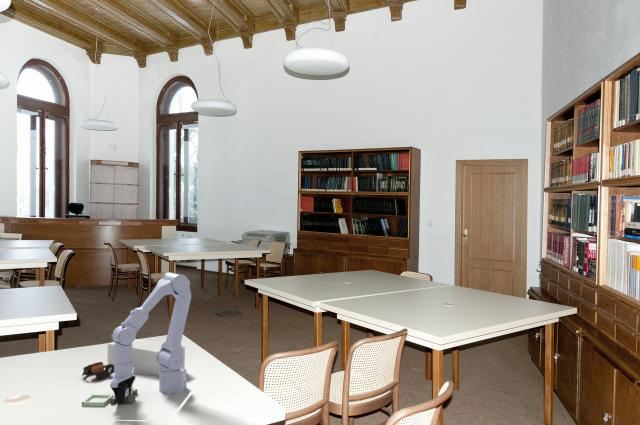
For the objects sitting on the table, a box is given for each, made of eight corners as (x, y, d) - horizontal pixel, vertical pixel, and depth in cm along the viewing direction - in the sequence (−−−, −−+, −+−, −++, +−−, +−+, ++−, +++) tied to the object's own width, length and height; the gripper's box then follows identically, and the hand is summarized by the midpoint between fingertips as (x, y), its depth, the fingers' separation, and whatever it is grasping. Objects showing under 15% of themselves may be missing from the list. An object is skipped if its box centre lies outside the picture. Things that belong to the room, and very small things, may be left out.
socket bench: (150, 392, 178) (150, 384, 178) (131, 411, 161) (131, 402, 161) (102, 391, 179) (102, 383, 179) (78, 410, 162) (78, 401, 162)
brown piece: (84, 388, 183) (79, 367, 185) (87, 391, 191) (82, 371, 194) (117, 376, 188) (111, 356, 190) (119, 379, 196) (114, 360, 198)
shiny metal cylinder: (130, 400, 168) (130, 386, 168) (125, 405, 164) (125, 390, 164) (120, 400, 168) (120, 386, 168) (115, 404, 164) (115, 390, 164)
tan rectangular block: (133, 393, 173) (133, 386, 173) (131, 395, 172) (131, 388, 172) (120, 393, 174) (120, 386, 174) (118, 395, 172) (118, 388, 172)
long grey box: (184, 372, 201) (184, 346, 201) (167, 380, 192) (167, 353, 191) (126, 361, 214) (126, 337, 214) (107, 368, 204) (107, 343, 204)
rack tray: (113, 399, 169) (113, 394, 169) (104, 407, 162) (104, 402, 162) (92, 398, 169) (92, 394, 169) (81, 406, 162) (81, 402, 162)
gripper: (121, 354, 173) (120, 392, 173) (101, 368, 159) (101, 409, 159) (140, 355, 173) (140, 392, 173) (123, 368, 159) (122, 409, 159)
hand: (122, 400), depth 166 cm, fingers closed on shiny metal cylinder, 4 cm apart
